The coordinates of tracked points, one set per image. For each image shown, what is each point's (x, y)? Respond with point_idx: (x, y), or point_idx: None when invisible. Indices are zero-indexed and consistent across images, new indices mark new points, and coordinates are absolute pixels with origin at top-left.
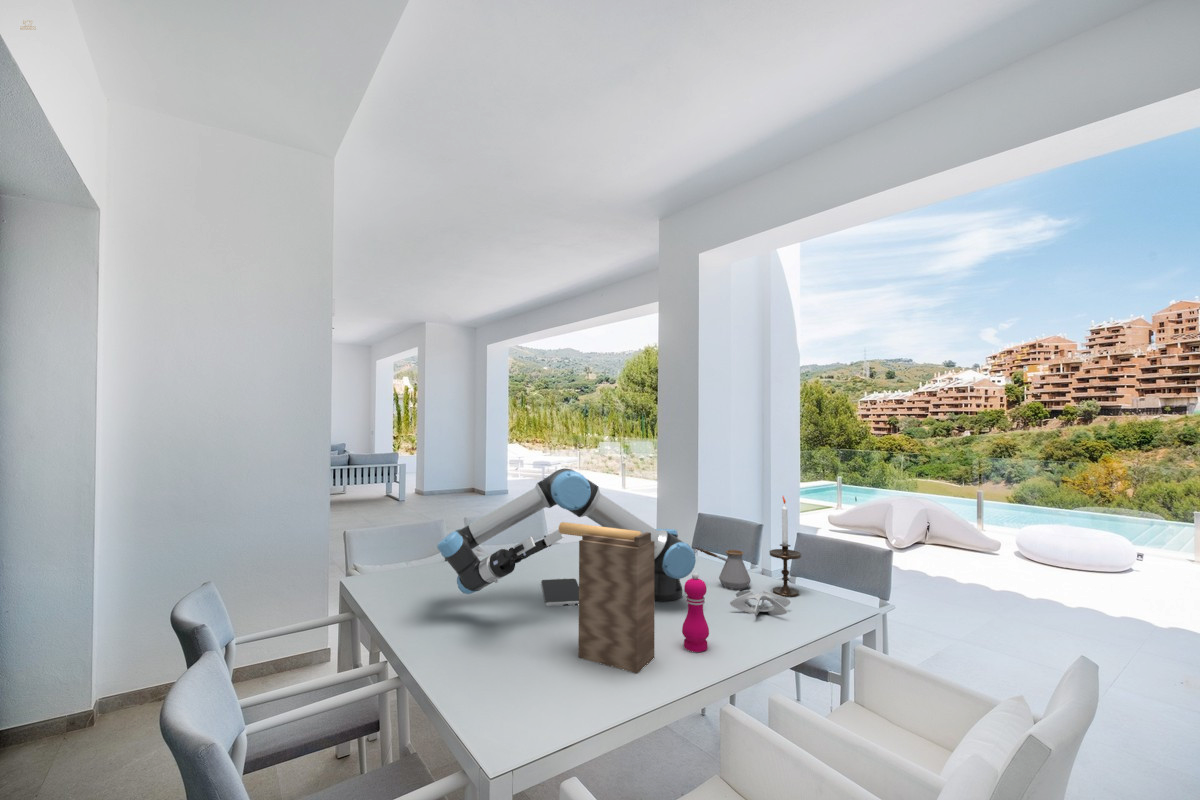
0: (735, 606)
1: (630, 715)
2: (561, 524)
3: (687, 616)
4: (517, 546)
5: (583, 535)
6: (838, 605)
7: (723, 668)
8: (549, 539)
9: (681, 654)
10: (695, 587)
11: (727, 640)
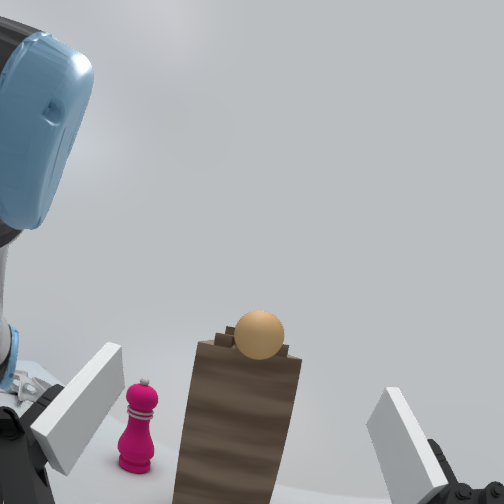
0: (20, 399)
1: (329, 494)
2: (277, 320)
3: (143, 436)
4: (441, 453)
5: (287, 346)
6: (21, 365)
7: None
8: (76, 427)
9: (161, 478)
10: (157, 395)
11: (104, 442)
